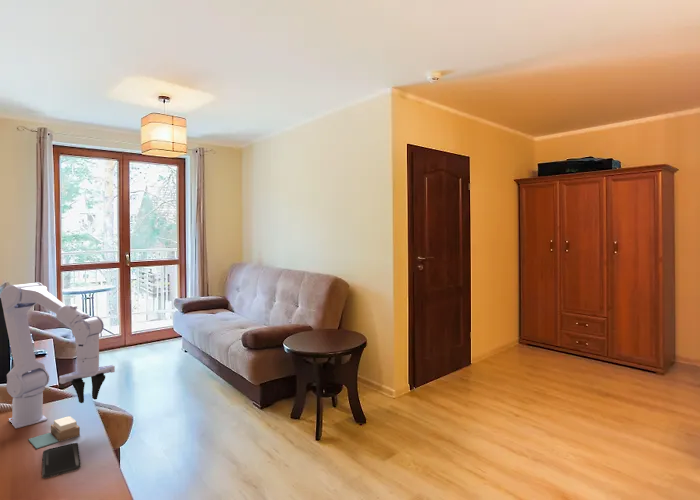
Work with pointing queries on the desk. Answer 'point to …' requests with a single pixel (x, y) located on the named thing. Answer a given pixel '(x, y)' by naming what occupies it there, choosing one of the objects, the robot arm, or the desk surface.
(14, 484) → the desk surface
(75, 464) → the phone
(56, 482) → the desk surface
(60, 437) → the block
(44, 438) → the mat
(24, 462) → the desk surface
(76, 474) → the desk surface
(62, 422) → the cream rectangular block
